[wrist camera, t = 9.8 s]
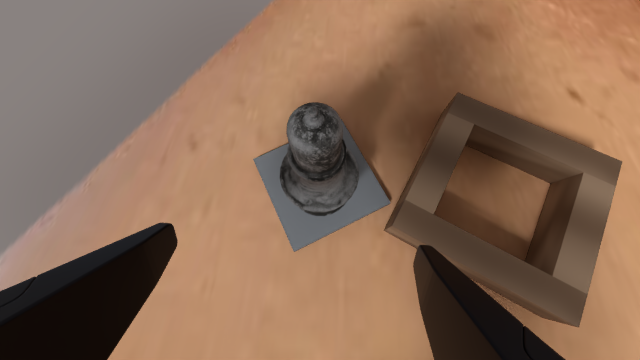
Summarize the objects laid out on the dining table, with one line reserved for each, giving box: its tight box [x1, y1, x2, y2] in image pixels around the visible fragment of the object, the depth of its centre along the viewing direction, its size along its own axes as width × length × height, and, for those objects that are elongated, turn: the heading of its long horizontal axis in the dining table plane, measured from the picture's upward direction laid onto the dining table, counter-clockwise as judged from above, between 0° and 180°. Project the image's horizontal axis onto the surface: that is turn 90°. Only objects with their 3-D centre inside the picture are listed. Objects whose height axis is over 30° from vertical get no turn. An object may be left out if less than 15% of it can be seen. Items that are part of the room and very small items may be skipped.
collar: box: [384, 93, 622, 327], centre depth 21 cm, size 13×13×3 cm
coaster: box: [253, 119, 390, 252], centre depth 23 cm, size 9×9×1 cm
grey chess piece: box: [280, 103, 359, 216], centre depth 17 cm, size 6×6×12 cm
